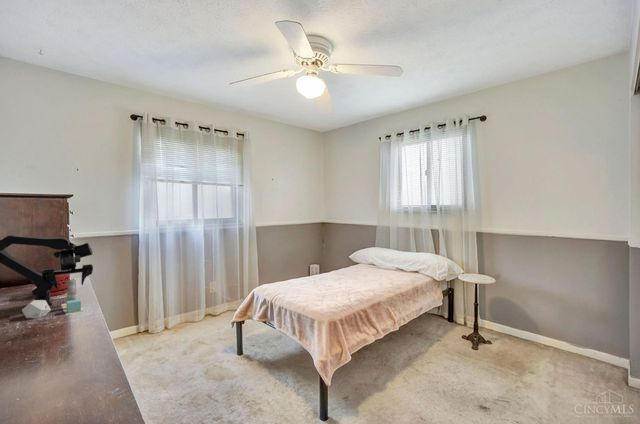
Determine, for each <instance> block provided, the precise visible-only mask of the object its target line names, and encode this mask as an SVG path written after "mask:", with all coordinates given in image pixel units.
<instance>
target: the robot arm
mask: <svg viewBox="0 0 640 424" xmlns="http://www.w3.org/2000/svg"><path fill="white" fill-rule="evenodd" d="M11 245H25V246H38V247H46V248H49V249H53V250H56V251H55V252H54V253H53V254H52V255H53V256H54V257H55V258H56V259H58V258H59V259H58V260H59V270H55V269H54V268H47V269H43V270H42V271H41V272H39V271H37V270H36V269H34V268H32V267H30V266H28V265H27V264H25V263H23V262H21V261H20V260H18V259H16V258H14V257H12V256H11V255H10V254H9V253H8V251H7V250H6V249H8V248H9V247H10V246H11ZM93 252H94V251H93V249H92V247H91V245H90V244H89V242H86V243H83V244H78V245H77V244H74V243H72V242H71V240H70V239H69V238H68V237H64V236H63V237H38V236H37V237H35V236H26V235H25V236H24V235H15V234H10V235H7V236H5V237H4V238H1V239H0V264H1V265H3V266H4V267H6V268H8V269H10V270H12V271H14V272H15V273H17V274H19V275H21V276H23V277H25V278H26V279H28V280H30V281H31V283H32V284H33V285H34V286H35V287H36V288H33V290H31V294H32V296H33V297H34V299H33V301H34V300H46V302H47V304H48V305H49V306H52V305H53V304H52V301H51V296H50V290H51V288H53V287H54V286H55V288H56V289H58V284H57V280H56V276H55V275H62V274H70V275H72V274H73V275H74V274H79V273H80V274H81V286H84V282H85V280H86V278H87V277H89V276H91V275H92V274H93V271H94V266H93V264H92V263H91V264H82V267H81V268H77V263H80V262H81V259H82V258H86V257H89V256H93V254H94V253H93Z"/></svg>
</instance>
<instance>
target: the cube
mask: <svg viewBox="0 0 640 424" xmlns="http://www.w3.org/2000/svg"><path fill="white" fill-rule="evenodd" d="M66 303H67V313H73V312H78V311H81V308H82V301H81V300H80V299H79V298H76V300H70V301H67V300H66Z"/></svg>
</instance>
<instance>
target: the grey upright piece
mask: <svg viewBox="0 0 640 424" xmlns="http://www.w3.org/2000/svg"><path fill="white" fill-rule="evenodd" d="M66 297H67V299H66V303H63V304H60V307H62V309H63V312H64V313H65V315H66V316H67V315H72V314H73V315H74V314H77V313H83V312H85V311H84V309H83V308H82V307H81V311H78V312H73V313H67V301H70V300H76V299H77V279H76V278H75V279H70V280H68V281H67V292H66Z"/></svg>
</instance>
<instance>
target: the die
mask: <svg viewBox="0 0 640 424" xmlns="http://www.w3.org/2000/svg"><path fill="white" fill-rule="evenodd" d="M21 311H22V313H23V315H24V317H25V318H26V319H38V318H43V317H45V316H46V315H47V314H49V312H51V311H52V310H51V308H50V305H48V304H47V302H46V300H34V299H33V300H32V301H31V302H30V303H28V304H27V305H26V306H24V308H22V309H21Z"/></svg>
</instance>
